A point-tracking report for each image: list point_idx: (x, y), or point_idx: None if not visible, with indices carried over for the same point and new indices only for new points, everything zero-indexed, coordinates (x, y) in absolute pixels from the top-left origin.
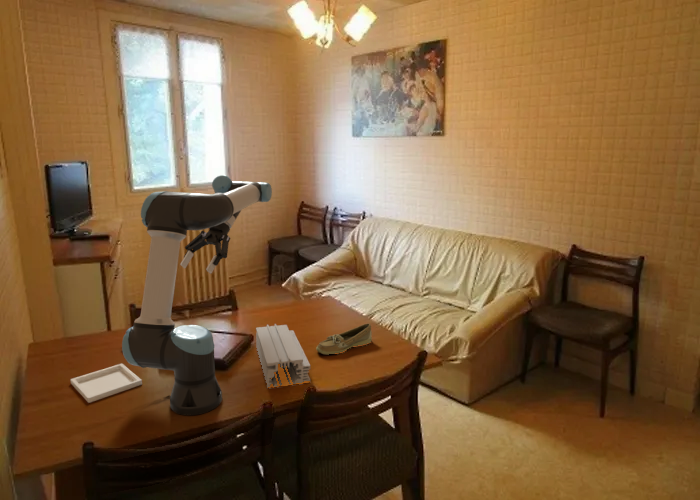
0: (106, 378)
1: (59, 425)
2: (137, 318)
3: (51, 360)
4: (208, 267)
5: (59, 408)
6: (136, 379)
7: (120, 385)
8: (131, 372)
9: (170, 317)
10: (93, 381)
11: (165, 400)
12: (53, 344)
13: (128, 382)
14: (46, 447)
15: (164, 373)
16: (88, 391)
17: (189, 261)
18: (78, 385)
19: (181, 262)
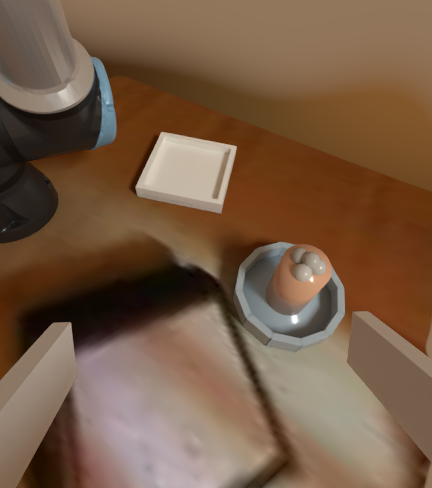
0: (206, 179)
1: (153, 112)
2: (328, 260)
3: (350, 180)
4: (45, 336)
5: (190, 126)
6: (146, 185)
7: (165, 176)
8: (175, 193)
9: (2, 75)
10: (214, 166)
11: (69, 189)
12: (423, 211)
13: (162, 186)
14: (127, 93)
15: (141, 240)
16: (191, 150)
17: (388, 409)
18: (208, 142)
19: (376, 320)
